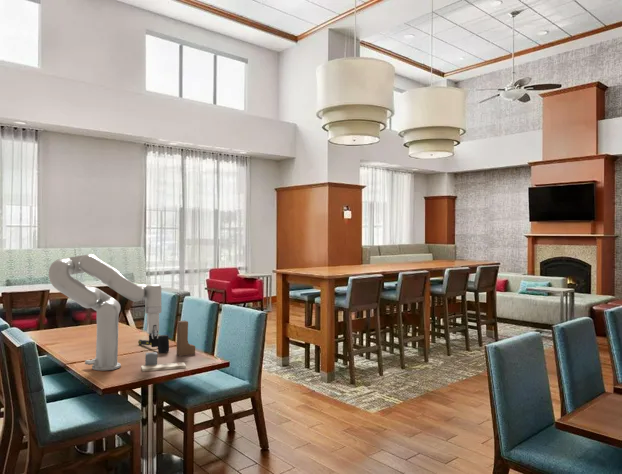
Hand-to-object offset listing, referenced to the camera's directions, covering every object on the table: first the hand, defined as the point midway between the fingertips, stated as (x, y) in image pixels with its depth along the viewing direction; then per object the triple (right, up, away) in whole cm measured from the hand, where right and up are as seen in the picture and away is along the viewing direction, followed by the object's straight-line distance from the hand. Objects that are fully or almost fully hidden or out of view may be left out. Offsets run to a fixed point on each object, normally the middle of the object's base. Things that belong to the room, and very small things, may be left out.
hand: (153, 344), depth 237 cm
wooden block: (+9, -11, +24) cm, 28 cm away
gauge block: (-1, -10, 0) cm, 10 cm away
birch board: (+6, -10, -4) cm, 13 cm away
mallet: (-12, -11, +35) cm, 39 cm away
